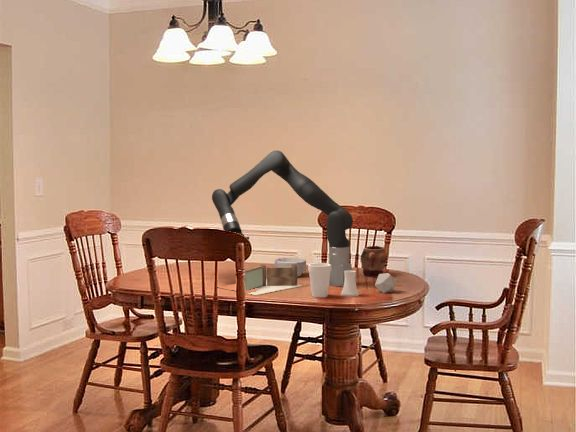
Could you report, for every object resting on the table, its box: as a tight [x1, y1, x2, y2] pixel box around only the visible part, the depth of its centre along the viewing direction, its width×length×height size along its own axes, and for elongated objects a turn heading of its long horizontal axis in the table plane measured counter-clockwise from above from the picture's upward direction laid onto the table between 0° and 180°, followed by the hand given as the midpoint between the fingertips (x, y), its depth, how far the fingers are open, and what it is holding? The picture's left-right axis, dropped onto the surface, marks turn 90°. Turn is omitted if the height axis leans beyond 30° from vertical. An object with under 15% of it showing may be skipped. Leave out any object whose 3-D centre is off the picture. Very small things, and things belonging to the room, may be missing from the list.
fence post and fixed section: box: [260, 264, 298, 286], centre depth 307 cm, size 16×2×9 cm, turn 90°
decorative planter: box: [360, 245, 387, 278], centre depth 330 cm, size 20×12×14 cm, turn 168°
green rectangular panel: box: [243, 265, 263, 291], centre depth 300 cm, size 13×2×9 cm, turn 151°
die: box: [374, 272, 398, 294], centre depth 293 cm, size 8×9×10 cm
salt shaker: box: [340, 270, 360, 298], centre depth 287 cm, size 8×8×10 cm
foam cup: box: [307, 262, 331, 298], centre depth 286 cm, size 10×9×13 cm
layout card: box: [247, 278, 304, 296], centre depth 306 cm, size 26×28×1 cm
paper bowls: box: [274, 257, 307, 278], centre depth 333 cm, size 15×15×8 cm
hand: (241, 255), depth 306 cm, fingers closed
